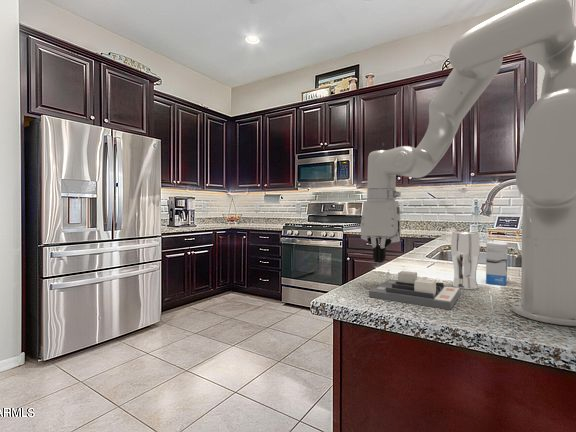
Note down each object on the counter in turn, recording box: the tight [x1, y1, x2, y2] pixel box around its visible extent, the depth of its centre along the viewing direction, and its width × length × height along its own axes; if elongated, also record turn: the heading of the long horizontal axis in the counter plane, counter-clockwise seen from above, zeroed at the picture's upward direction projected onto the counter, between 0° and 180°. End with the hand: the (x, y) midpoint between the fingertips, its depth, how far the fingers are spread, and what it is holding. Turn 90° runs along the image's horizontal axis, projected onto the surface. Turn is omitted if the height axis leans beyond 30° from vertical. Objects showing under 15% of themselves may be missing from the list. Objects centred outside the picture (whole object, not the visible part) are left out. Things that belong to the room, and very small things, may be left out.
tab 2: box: [414, 278, 437, 295], centre depth 75 cm, size 4×4×3 cm
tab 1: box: [397, 270, 418, 283], centre depth 85 cm, size 4×4×3 cm
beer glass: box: [450, 231, 481, 290], centre depth 88 cm, size 7×7×15 cm
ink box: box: [485, 240, 509, 286], centre depth 94 cm, size 8×5×12 cm, turn 143°
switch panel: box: [368, 278, 462, 311], centre depth 80 cm, size 18×16×2 cm
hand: (379, 261), depth 89 cm, fingers closed
